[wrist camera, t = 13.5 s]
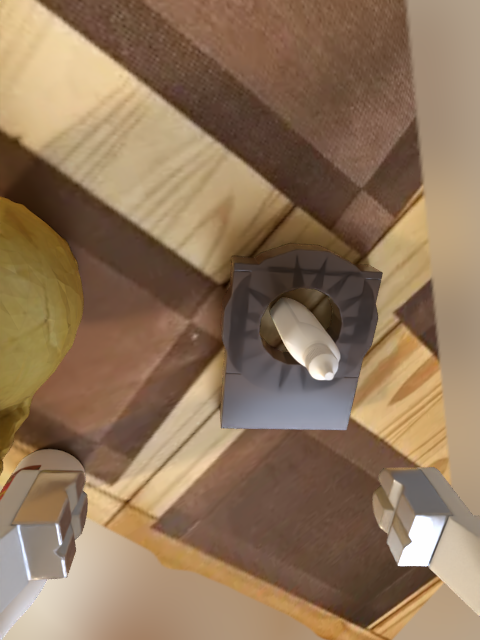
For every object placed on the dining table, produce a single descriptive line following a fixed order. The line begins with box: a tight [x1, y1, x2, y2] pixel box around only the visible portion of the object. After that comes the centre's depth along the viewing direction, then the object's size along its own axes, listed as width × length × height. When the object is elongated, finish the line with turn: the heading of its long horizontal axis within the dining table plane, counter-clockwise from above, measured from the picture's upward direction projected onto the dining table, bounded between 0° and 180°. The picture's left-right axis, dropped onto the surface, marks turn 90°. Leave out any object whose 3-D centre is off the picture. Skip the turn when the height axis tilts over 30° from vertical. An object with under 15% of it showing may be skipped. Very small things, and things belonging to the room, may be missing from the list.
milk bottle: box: [0, 449, 86, 640], centre depth 34 cm, size 8×8×20 cm
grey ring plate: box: [220, 243, 382, 430], centre depth 38 cm, size 20×15×3 cm
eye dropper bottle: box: [270, 297, 340, 380], centre depth 33 cm, size 4×6×12 cm
